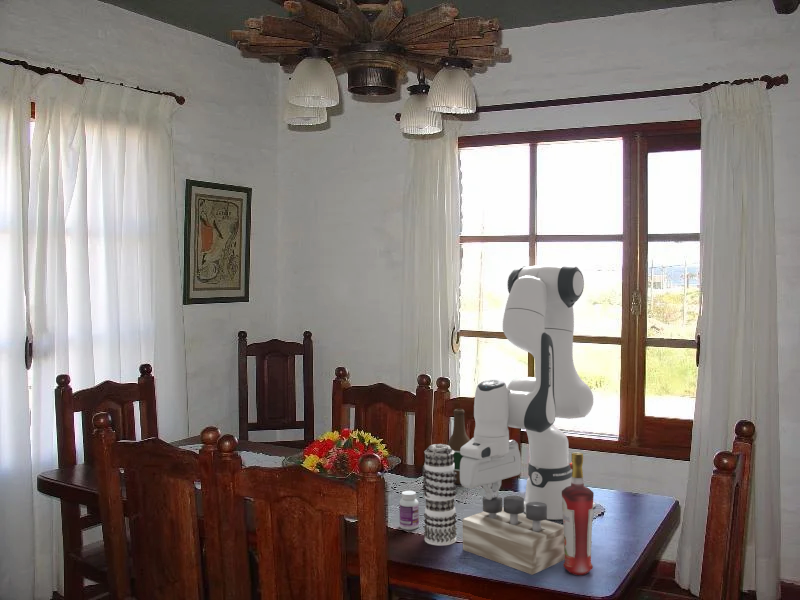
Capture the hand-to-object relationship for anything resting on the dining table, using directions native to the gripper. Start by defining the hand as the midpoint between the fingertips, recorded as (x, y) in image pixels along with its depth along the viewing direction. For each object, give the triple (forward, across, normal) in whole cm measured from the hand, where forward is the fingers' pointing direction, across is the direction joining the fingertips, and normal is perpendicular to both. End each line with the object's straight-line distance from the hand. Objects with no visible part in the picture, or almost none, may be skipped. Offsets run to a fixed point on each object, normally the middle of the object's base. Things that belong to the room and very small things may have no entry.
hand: (491, 498), depth 197 cm
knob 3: (+7, 0, +14) cm, 15 cm away
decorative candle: (+13, +6, -13) cm, 19 cm away
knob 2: (+7, 0, +7) cm, 10 cm away
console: (+13, 0, +7) cm, 14 cm away
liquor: (+13, -3, +24) cm, 27 cm away
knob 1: (+8, 0, 0) cm, 8 cm away
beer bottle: (+12, -37, -46) cm, 61 cm away
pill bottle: (+13, +5, -26) cm, 29 cm away
